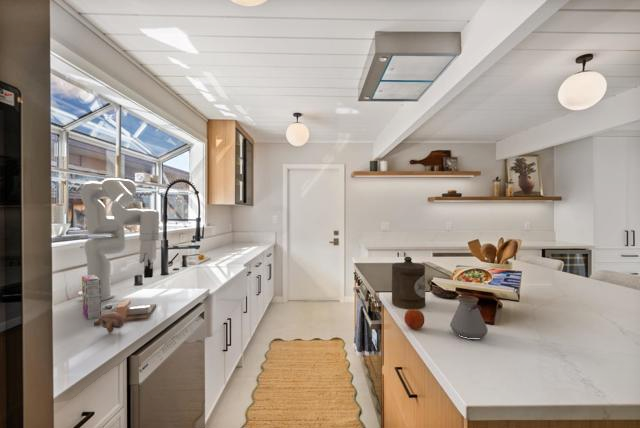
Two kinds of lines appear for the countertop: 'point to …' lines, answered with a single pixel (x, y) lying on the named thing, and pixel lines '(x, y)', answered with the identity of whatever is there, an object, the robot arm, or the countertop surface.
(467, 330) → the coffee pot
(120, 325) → the mushroom
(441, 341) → the countertop surface
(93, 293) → the candy bar box
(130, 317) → the board
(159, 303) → the countertop surface
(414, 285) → the wooden container
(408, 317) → the fruit
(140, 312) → the link
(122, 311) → the keeper
